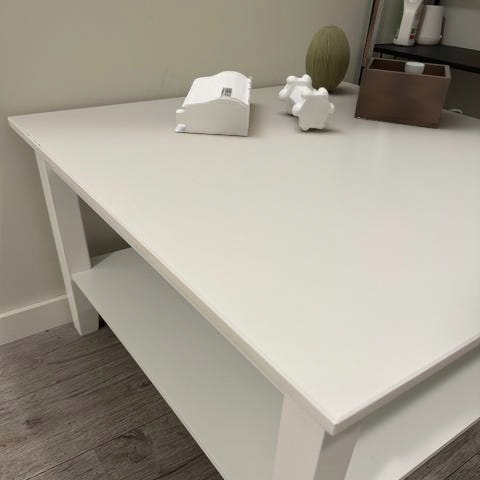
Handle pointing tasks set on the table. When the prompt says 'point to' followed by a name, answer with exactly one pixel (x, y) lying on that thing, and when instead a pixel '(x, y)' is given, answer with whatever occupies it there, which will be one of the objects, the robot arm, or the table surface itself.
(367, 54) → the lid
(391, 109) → the chest
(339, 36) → the fruit
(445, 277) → the table surface
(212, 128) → the barrel roof building
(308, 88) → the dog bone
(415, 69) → the supplement bottle
